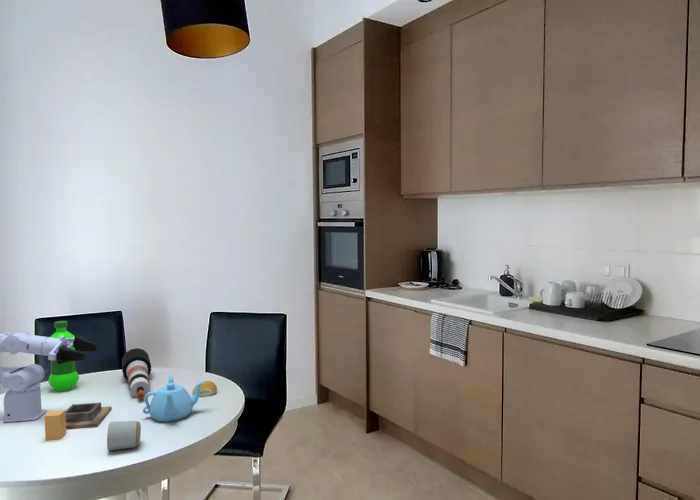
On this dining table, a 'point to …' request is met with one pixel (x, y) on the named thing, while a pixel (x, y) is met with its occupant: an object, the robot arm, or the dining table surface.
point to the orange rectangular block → (55, 425)
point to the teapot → (171, 402)
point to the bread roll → (206, 389)
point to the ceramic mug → (123, 435)
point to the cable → (137, 371)
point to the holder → (85, 415)
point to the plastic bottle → (63, 364)
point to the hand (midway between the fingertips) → (90, 351)
